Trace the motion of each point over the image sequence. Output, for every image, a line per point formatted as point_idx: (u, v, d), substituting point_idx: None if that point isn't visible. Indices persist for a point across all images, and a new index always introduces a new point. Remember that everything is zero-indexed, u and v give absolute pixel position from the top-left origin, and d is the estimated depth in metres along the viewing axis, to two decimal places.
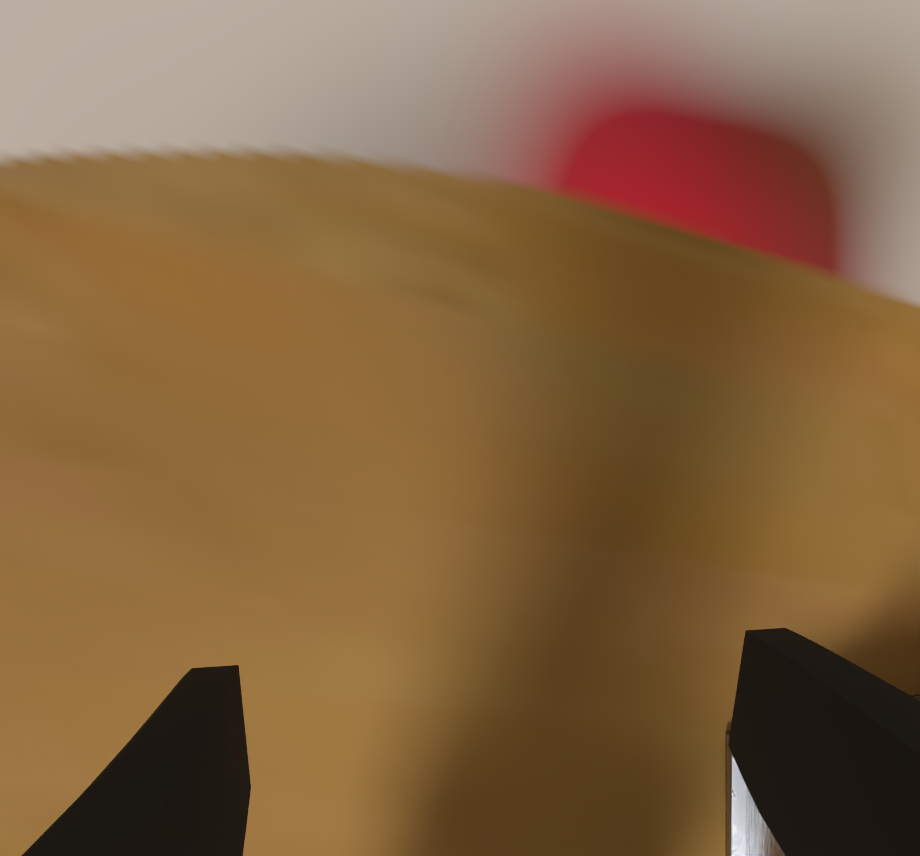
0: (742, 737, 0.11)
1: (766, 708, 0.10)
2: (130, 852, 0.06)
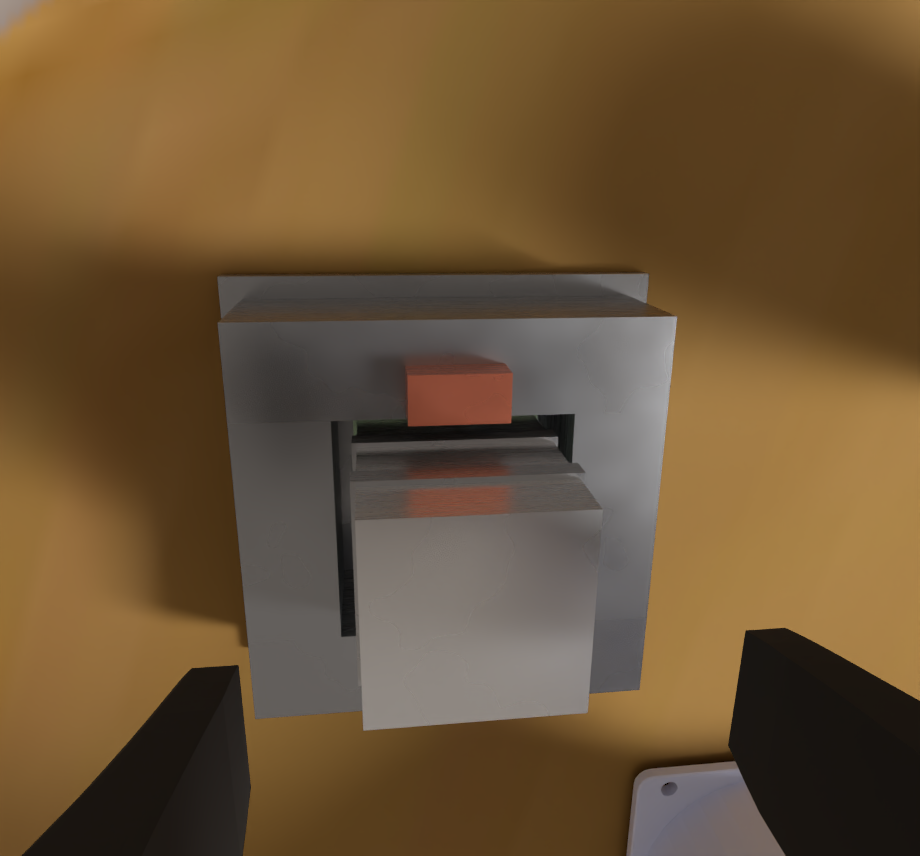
0: (742, 737, 0.11)
1: (766, 708, 0.10)
2: (130, 852, 0.06)
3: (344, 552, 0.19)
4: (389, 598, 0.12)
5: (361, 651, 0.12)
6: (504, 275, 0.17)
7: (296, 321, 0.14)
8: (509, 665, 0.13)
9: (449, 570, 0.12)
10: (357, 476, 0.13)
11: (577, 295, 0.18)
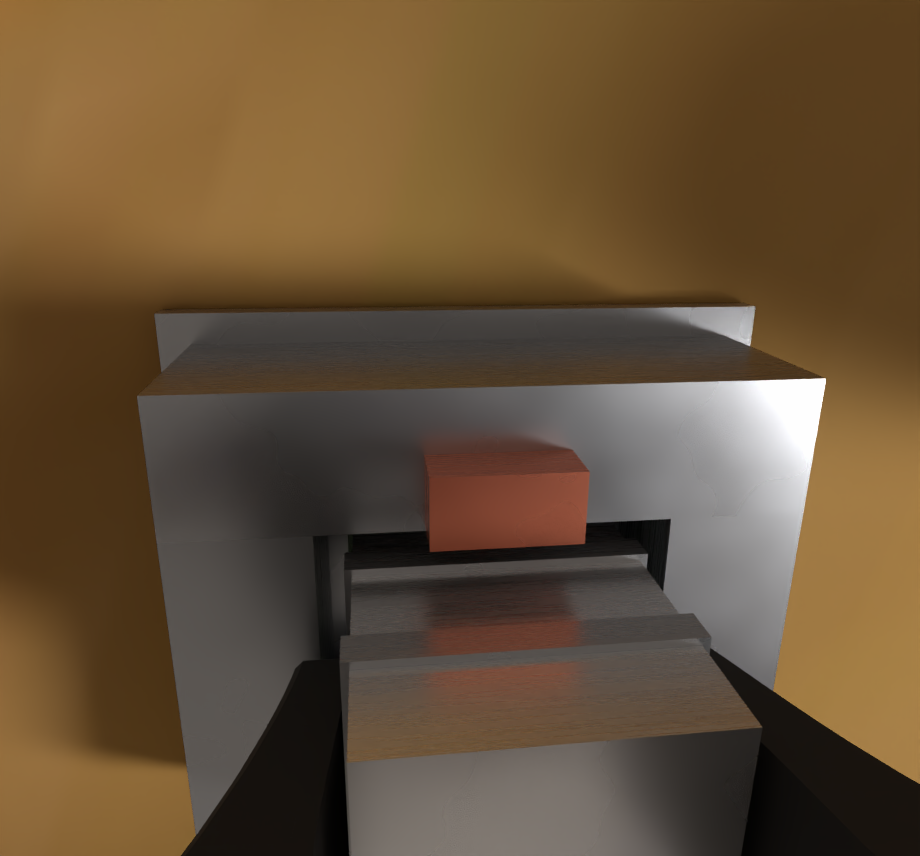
0: None
1: None
2: (302, 835, 0.06)
3: None
4: None
5: None
6: (557, 309, 0.12)
7: (259, 392, 0.09)
8: None
9: (505, 829, 0.07)
10: (351, 648, 0.08)
11: (657, 336, 0.13)
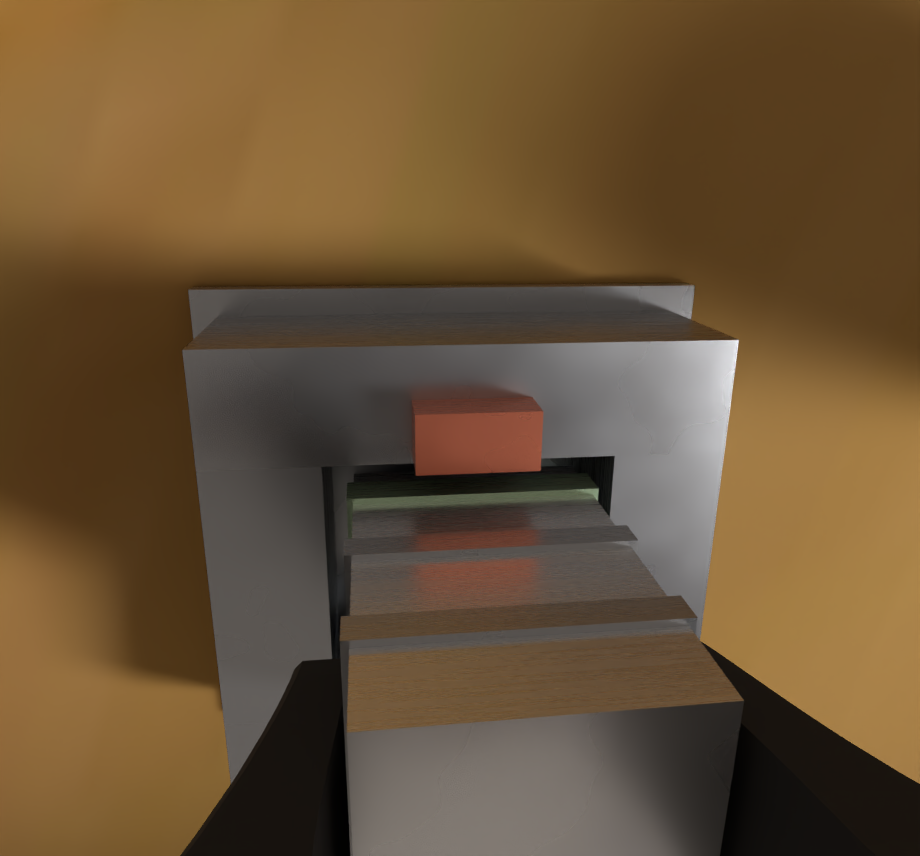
0: None
1: None
2: (301, 835, 0.06)
3: (339, 606, 0.16)
4: (402, 842, 0.08)
5: None
6: (526, 287, 0.15)
7: (279, 348, 0.11)
8: None
9: (498, 798, 0.08)
10: (351, 627, 0.09)
11: (611, 310, 0.15)
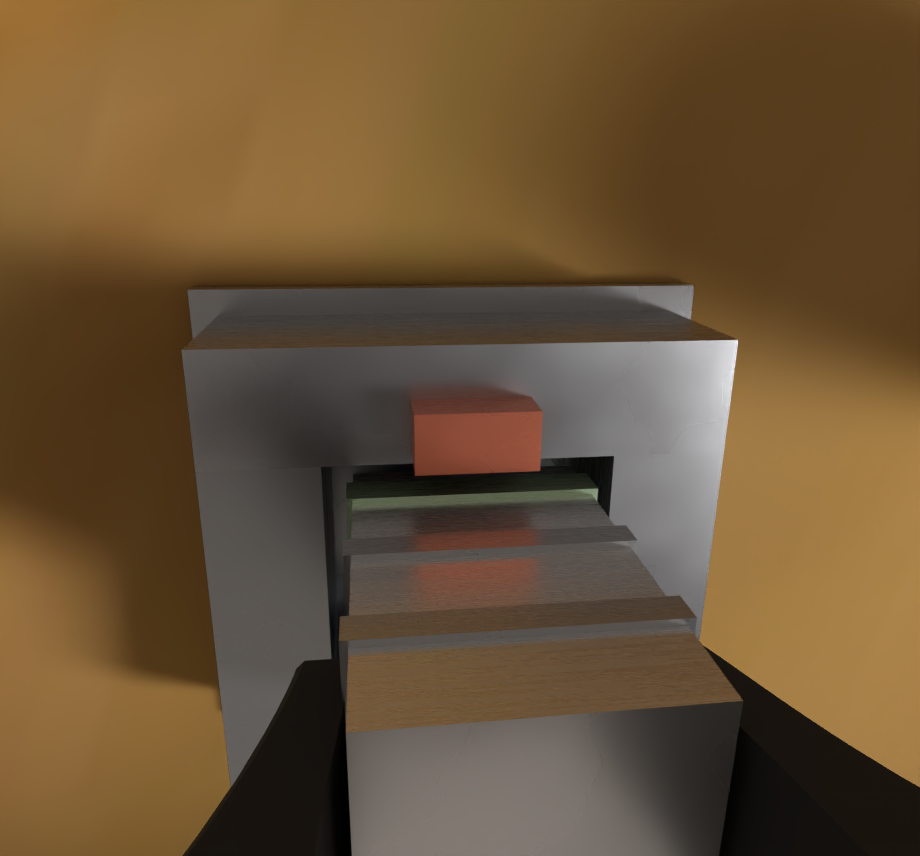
0: None
1: None
2: (304, 835, 0.06)
3: (339, 606, 0.16)
4: (401, 842, 0.08)
5: None
6: (526, 287, 0.15)
7: (278, 348, 0.11)
8: None
9: (497, 798, 0.08)
10: (350, 627, 0.09)
11: (611, 310, 0.15)
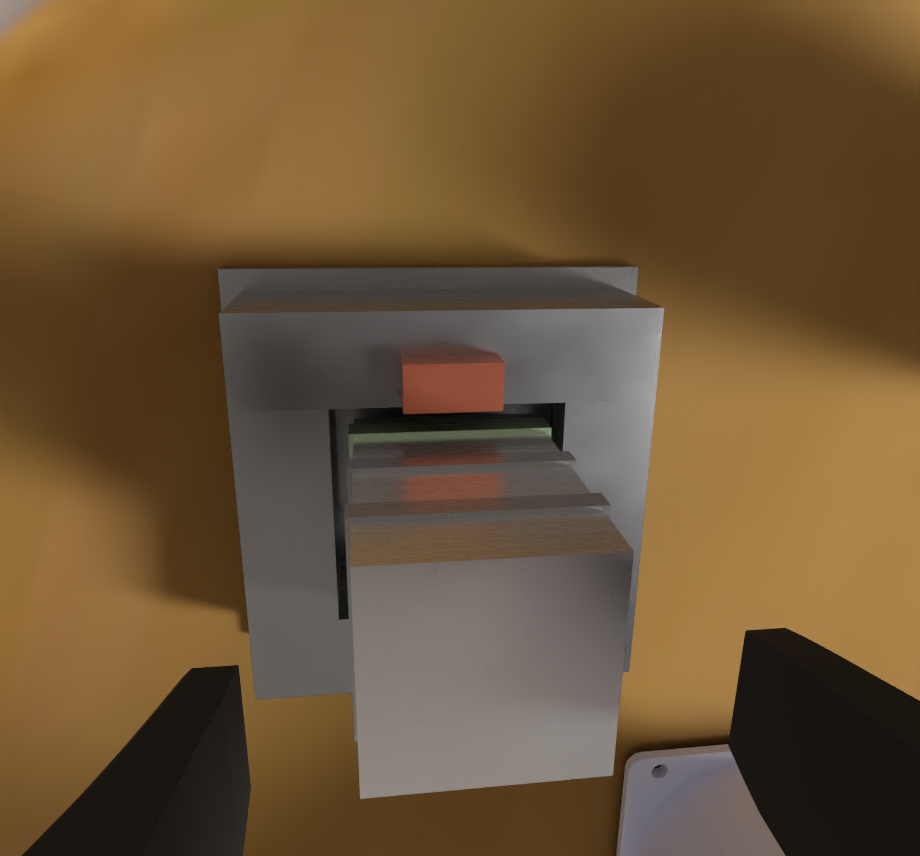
0: (742, 737, 0.11)
1: (766, 708, 0.10)
2: (130, 852, 0.06)
3: (341, 539, 0.19)
4: (389, 653, 0.11)
5: (357, 712, 0.11)
6: (497, 268, 0.18)
7: (295, 312, 0.14)
8: (525, 725, 0.11)
9: (458, 621, 0.11)
10: (353, 510, 0.12)
11: (568, 288, 0.18)
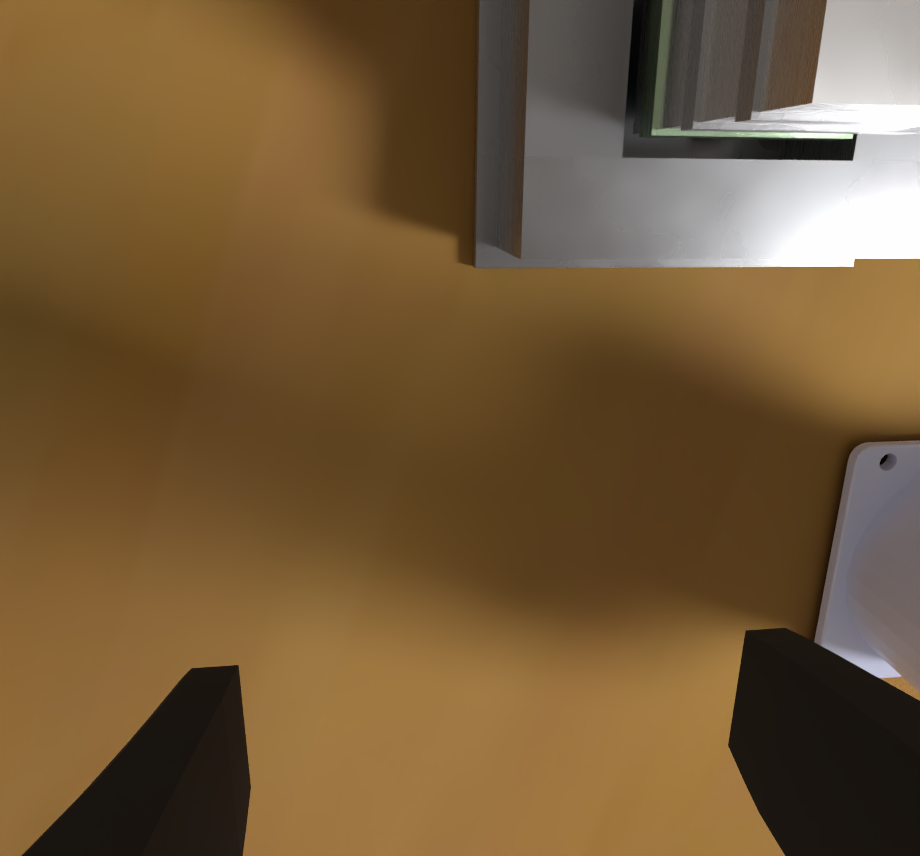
0: (742, 737, 0.11)
1: (766, 708, 0.10)
2: (130, 852, 0.06)
3: None
4: None
5: None
6: None
7: None
8: None
9: None
10: None
11: None
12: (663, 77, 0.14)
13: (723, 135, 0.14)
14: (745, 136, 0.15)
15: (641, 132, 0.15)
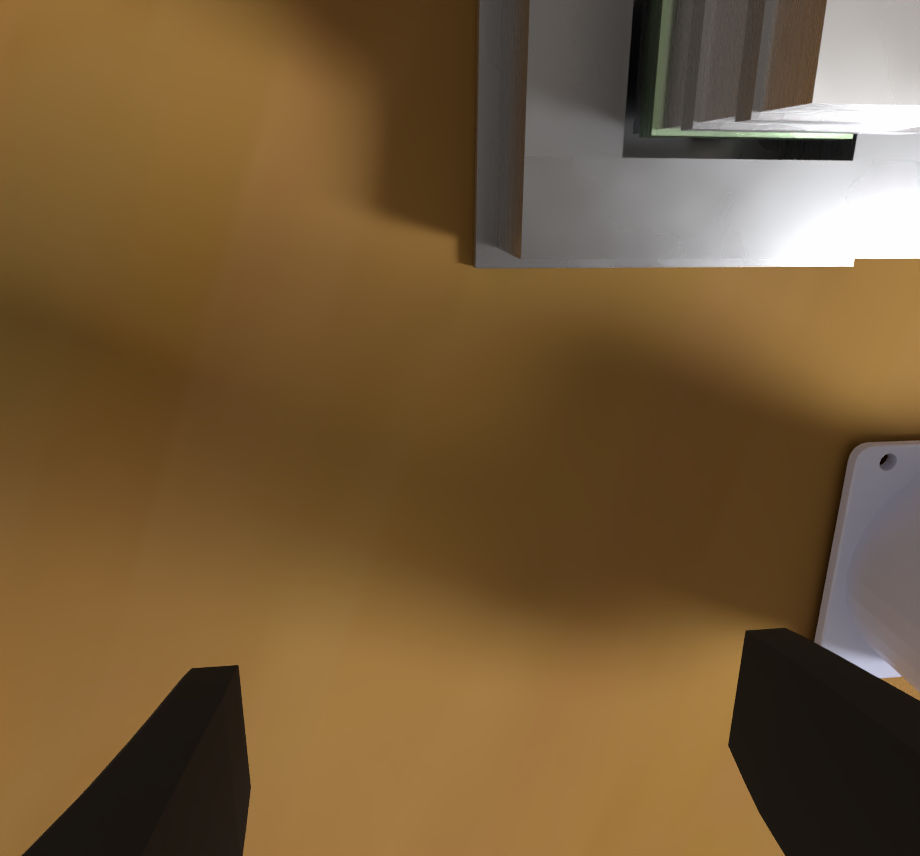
0: (742, 737, 0.11)
1: (766, 708, 0.10)
2: (130, 852, 0.06)
3: None
4: None
5: None
6: None
7: None
8: None
9: None
10: None
11: None
12: (663, 77, 0.14)
13: (723, 135, 0.14)
14: (745, 136, 0.15)
15: (641, 132, 0.15)
